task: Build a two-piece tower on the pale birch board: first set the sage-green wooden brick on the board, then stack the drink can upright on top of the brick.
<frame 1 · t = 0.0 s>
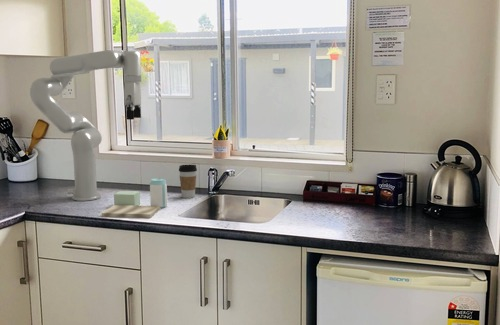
hand: (133, 118, 244), 37 cm above the worktop, tool pointing down, fingers open, 9 cm apart
sage brick: (127, 206, 237), on the worktop
birch board: (131, 213, 224), on the worktop
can: (158, 207, 235), on the worktop
coffee cup: (188, 197, 255), on the worktop
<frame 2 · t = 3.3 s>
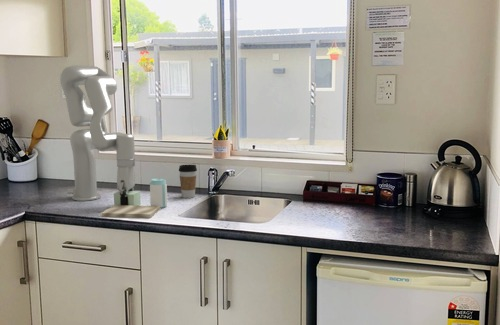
hand: (127, 203, 236), 1 cm above the worktop, tool pointing down, fingers closed on sage brick, 7 cm apart
sage brick: (127, 206, 237), on the worktop, touching gripper
everything else where it was.
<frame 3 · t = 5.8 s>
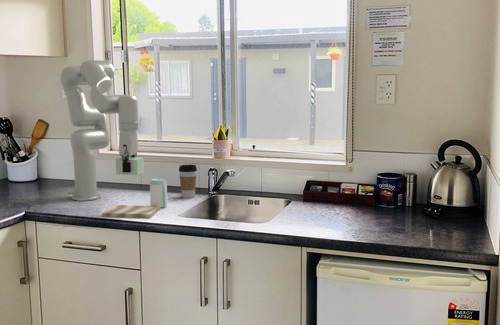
hand: (130, 170, 222), 18 cm above the worktop, tool pointing down, fingers closed on sage brick, 7 cm apart
sage brick: (130, 173, 222), point 17 cm above the worktop, touching gripper
everything else where it was.
when the fingers open (3 cm above the worktop, at t = 8.5 s): sage brick stays where it is, resting on birch board.
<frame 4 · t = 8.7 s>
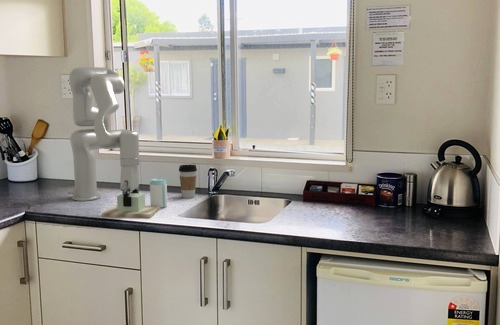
hand: (131, 203, 224), 4 cm above the worktop, tool pointing down, fingers open, 9 cm apart
sage brick: (131, 209, 224), point 1 cm above the worktop, touching birch board
everything else where it was.
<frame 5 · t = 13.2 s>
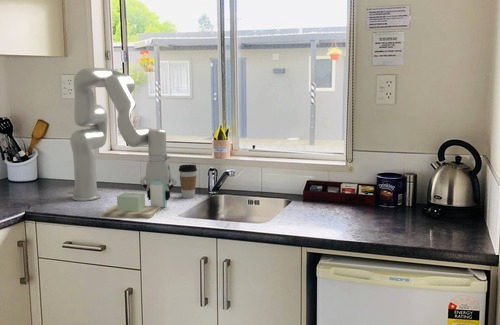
hand: (158, 199, 235), 3 cm above the worktop, tool pointing down, fingers closed on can, 7 cm apart
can: (159, 207, 235), on the worktop, touching gripper
everything else where it was.
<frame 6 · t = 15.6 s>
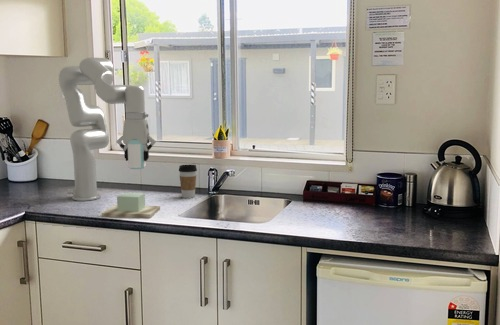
hand: (136, 160, 224), 21 cm above the worktop, tool pointing down, fingers closed on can, 7 cm apart
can: (137, 168, 224), point 18 cm above the worktop, touching gripper
everything else where it was.
when the fingers open (12 cm above the worktop, at t = 18.3 s): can stays where it is, resting on sage brick.
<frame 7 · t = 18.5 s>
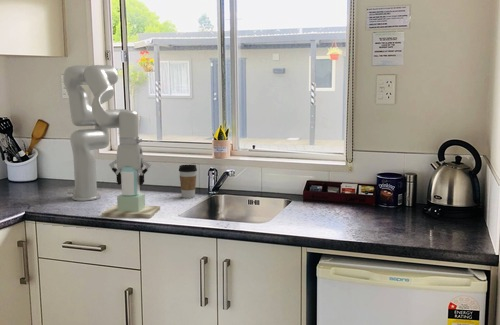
hand: (130, 184, 222), 12 cm above the worktop, tool pointing down, fingers open, 8 cm apart
sage brick: (131, 209, 224), point 1 cm above the worktop, touching birch board, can
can: (130, 195, 223), point 7 cm above the worktop, touching sage brick
everything else where it was.
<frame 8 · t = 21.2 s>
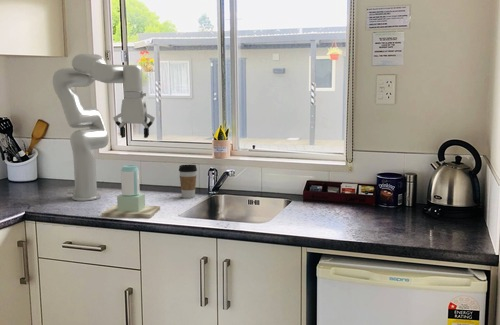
hand: (134, 137, 226), 30 cm above the worktop, tool pointing down, fingers open, 9 cm apart
nothing on the worktop moved.
at the end: sage brick inside the target area on the birch board (0.2 cm from its centre), point 1.5 cm above the birch board's base; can 0.1 cm off-centre on the sage brick, point 5.8 cm above the sage brick's base; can tilted 0° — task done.
